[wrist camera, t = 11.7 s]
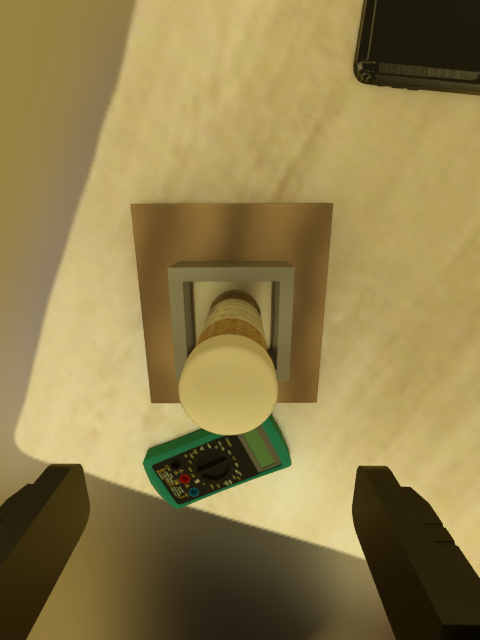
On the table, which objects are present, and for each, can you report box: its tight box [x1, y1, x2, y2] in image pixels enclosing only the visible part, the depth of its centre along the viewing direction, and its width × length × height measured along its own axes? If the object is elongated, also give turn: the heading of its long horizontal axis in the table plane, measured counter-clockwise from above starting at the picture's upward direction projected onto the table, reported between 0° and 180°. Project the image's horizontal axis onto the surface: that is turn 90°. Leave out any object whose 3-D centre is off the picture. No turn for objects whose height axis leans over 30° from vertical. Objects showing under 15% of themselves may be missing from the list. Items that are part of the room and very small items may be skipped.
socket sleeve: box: [168, 261, 295, 382], centre depth 24 cm, size 9×9×4 cm
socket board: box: [131, 203, 333, 403], centre depth 27 cm, size 16×18×2 cm
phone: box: [354, 0, 480, 95], centre depth 22 cm, size 8×1×15 cm
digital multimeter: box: [143, 414, 291, 509], centre depth 32 cm, size 7×15×3 cm, turn 116°
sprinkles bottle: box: [179, 290, 278, 435], centre depth 20 cm, size 5×5×13 cm
